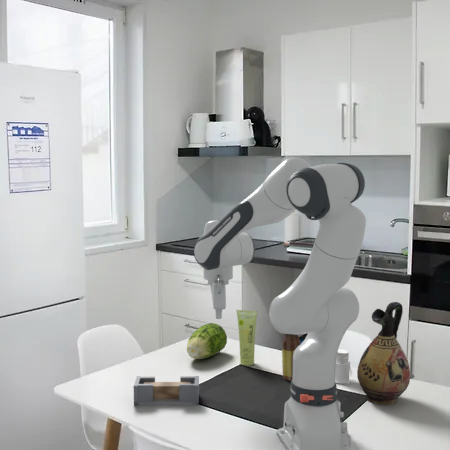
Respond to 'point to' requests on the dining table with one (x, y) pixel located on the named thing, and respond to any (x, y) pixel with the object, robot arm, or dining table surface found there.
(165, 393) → the slat
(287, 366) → the sauce bottle
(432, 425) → the dining table surface
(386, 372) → the ceramic jug
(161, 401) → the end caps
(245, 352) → the tube
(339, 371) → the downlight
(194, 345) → the lettuce
